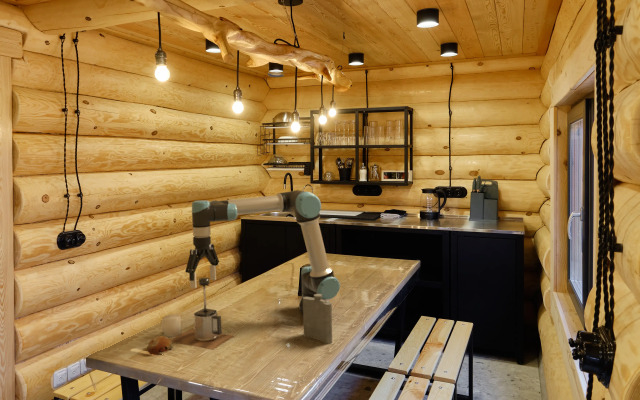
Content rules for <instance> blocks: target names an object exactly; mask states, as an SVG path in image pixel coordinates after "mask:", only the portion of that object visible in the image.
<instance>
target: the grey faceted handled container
mask: <svg viewBox="0 0 640 400" xmlns="http://www.w3.org/2000/svg"><path fill="white" fill-rule="evenodd" d="M206 309H207V313H204V308H202V309H200V310H198V311H195V312H194V313H193V319H194V320H193V321H194V329H195V339H196V340H197V341H211V340H214V339H216V338H217V337H218V335H220V334H223V333H222V331H223V330H222V316H221V315H218V312H217V309H213V308H206ZM211 314H213V315H211ZM198 315H199V316H198ZM209 315H211V316H209ZM200 316H205V317H200Z"/></svg>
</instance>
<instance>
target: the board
mask: <svg viewBox="0 0 640 400" xmlns="http://www.w3.org/2000/svg"><path fill="white" fill-rule="evenodd" d="M234 337H235V335H231V334H226V333H222V334H220V335H218V337H217V338H216V339H214V340H211V341H197V340H196V339H195V328H193V327H192V328H191V329H188V330H187V331H184V332H181V334H180V335H179V336H176V337H172V339H170V340H171V342H172V343H176V344H177V343H178V344H181V345H187V346H193V347H197V348H202V349H207V350H212V351H214V349H217V348H218V347H221V345H223V344H224V343H226V342H228V341H229V340H231V339H232V338H234Z"/></svg>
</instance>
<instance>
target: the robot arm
mask: <svg viewBox="0 0 640 400" xmlns="http://www.w3.org/2000/svg"><path fill="white" fill-rule="evenodd" d="M321 210H322V203H321V200H320V198H319V197H318V195H316V194H314V193H312V192H309V191H304V190H298V189H297V190H290V191H285V192H277V194H276V195H268V196H267V195H266V196H258V197H256V196H255V197H245V198H235V199H226V200H210V201H209V200H205V199H204V200H194V201H193V202H192V204H191V218H192V219H191V220H192V236H193V237H192V244H193V246H194V249H190V250H189V256H188V260H187V264H186V267H185V273H188V275H189V276H188V277H189V283H190V285H189V287H190V288H191V289H197V287H198V286H197V272H196V270H197V268H198V266H199V263H200V261H201V260H202V259H203V258H204V257H205V258H206V259H207V261H208V263H210V265H209V281H210V280H212V281H216V280H217V266H219V263H220V260H219V257H218V254H217V252H216V249H215V244H213V243H212V241H211V240H212V239H211V237H212V236H211V222H213V223H214V222H227V221H228V222H230V221H235V220H236V219H237V218H238V216H240V215H241V216H242V215H249V214H257V213H258V214H259V213H266V212H267V213H269V212H278V213H289V214H290V213H292V214H294V217H295V220H296V223H297V224H299V225H300V228H301V233H302V236H303V240H304V243H305V247H306V251H307V255H308V260H309V264H310V265H309V266H307V265H306V266H304V267H302V268H301V272H300V274H301V297H300V301H299V305H298V310H299V312H301V313H302V314H303V297H312V298H315V297H314V295H315V294H322V297H321V298H322V299H323V300H325V301H327V300H332V299H333V298H335V297H336V296H337V295H338V293H339V292H340V289H341V283H340V281H339V280H338V278H337V277H336V276H335V273H334V269H333V267H331V266H329V265H330V264H329V262H328V258H327V253H326V248H325V245H324V240H323V235H322V231H321V227H320V225H319V224H320V222H319V220H320V218H321V213H320V211H321Z"/></svg>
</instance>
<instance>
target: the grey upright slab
mask: <svg viewBox="0 0 640 400" xmlns="http://www.w3.org/2000/svg"><path fill="white" fill-rule="evenodd" d="M314 297H315V298H312V297H303V313H302V314H303V316H302V317H303V321H302V322H303V337H306V338H312V339H315V340H318V341H320V342H323V343H324V344H327V345H328V344H329V345H330V344H332V343H333V305H332V302H330V301H327V300H326V301H325V300H323V299H322V298H321V297H322V294H315V295H314Z"/></svg>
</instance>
